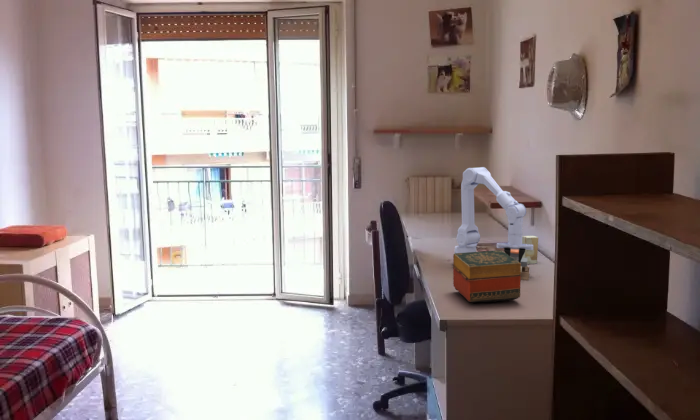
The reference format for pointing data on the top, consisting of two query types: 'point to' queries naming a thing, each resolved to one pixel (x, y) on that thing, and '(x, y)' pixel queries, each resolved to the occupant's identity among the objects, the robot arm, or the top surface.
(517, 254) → the button
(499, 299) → the decorative box
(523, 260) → the cabinet
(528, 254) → the skincare box
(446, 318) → the top surface
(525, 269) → the wooden tray
